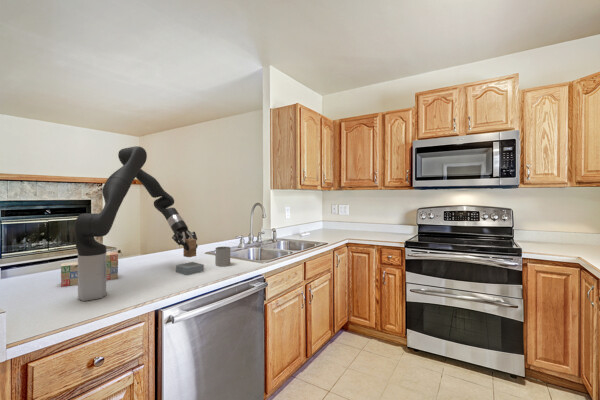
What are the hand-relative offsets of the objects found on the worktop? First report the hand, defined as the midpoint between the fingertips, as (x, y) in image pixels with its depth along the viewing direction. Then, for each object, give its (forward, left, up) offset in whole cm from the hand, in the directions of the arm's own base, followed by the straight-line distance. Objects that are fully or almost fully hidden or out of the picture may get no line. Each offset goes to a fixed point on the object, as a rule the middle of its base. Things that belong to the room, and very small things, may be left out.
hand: (192, 248), depth 153 cm
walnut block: (+2, +1, -4) cm, 5 cm away
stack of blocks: (+10, +44, -13) cm, 47 cm away
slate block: (+2, +1, -13) cm, 13 cm away
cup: (+7, -19, -13) cm, 24 cm away
